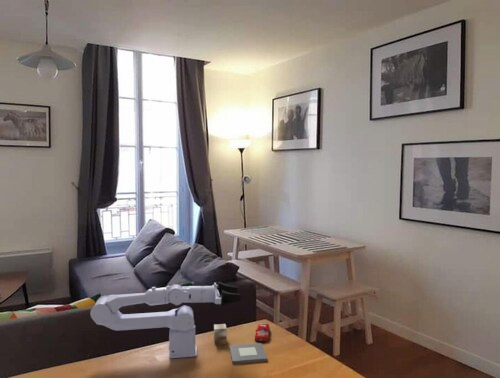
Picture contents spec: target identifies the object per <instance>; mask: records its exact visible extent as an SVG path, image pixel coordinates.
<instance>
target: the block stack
mask: <svg viewBox="0 0 500 378" xmlns="http://www.w3.org/2000/svg"><path fill="white" fill-rule="evenodd" d="M227 336H228V335H227V325H226V323H220V324H215V323H214V324H213V342H214V343H213V344H214V345H215V346H217V345H227V343H228V342H227V341H228V340H227Z"/></svg>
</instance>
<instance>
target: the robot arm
mask: <svg viewBox="0 0 500 378" xmlns="http://www.w3.org/2000/svg"><path fill="white" fill-rule="evenodd" d="M241 295H242V294H240V293H238V287H237V286H233V285H230V284H229V285H228V284H225V283H224V282H222V281H218V282H213V284H212V285H189V286H187V285H185V286H183V285H181V284H176V283H173V284H171V285H167V286H165V287H156V286H152V287H151V288H149V289H147V290H146V291H145V292H139V293H138V292H136V293H122V294H109V295H102V296H100V297H98V299H97V300H96V302H95V304H94V305H93V307H92V308H91V309H90V318H91V319H92V320H93V322H94V323H95V324H96V325H98V326H104V327H106V328H107V329H111V330H112V331H117V332H118V331H130V330H131V331H132V330H144V329H159V328H169V335H168V351H169V359H175V358H176V359H178V358H180V359H181V358H193V357H194V358H195V357H197V356H198V351H197V350H198V347H197V345H196V325H195V318H194V310H193V309H192V307H191V306H188V305H182V303H188V304H189V303H214V304H215V305H219V306H220V307H221V308H224V307H226V306H228V305H230V304H233V303H236V302H240V301H241ZM169 303H170V304H173V305H175V306H179V305H182V306H180V307H178V308H173V309H171V310H168V311H158V312H156V311H155V312H144V313H143V312H142V313H129V314H128V313H126V314H125V313H122V312H120V310H119V309H121V308H122V307H126V306H127V307H128V306H134V305H138V304H139V305H141V304H147V305H148V306H157V305H168V304H169Z"/></svg>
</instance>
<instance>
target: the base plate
mask: <svg viewBox="0 0 500 378" xmlns="http://www.w3.org/2000/svg"><path fill="white" fill-rule="evenodd" d="M263 346H264V345H263V344H262V342H259V343H257V342H256V343H246V344H245V343H244V344H232V345H229V352H230V357H231V363H232V365H236V364H237V365H238V364H248V363H249V364H251V363H262V362H263V363H264V362H268V356H267V353H266V351H265V349H264V347H263Z"/></svg>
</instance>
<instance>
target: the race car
mask: <svg viewBox="0 0 500 378" xmlns="http://www.w3.org/2000/svg"><path fill="white" fill-rule="evenodd" d="M270 330H271V327H270V324H269V323H267V322H260V323H258V325H257V328H256V329H255V335H254V340H255V341H256V342H259V343H262V342H268V341H269V338H270V332H271V331H270Z"/></svg>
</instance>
